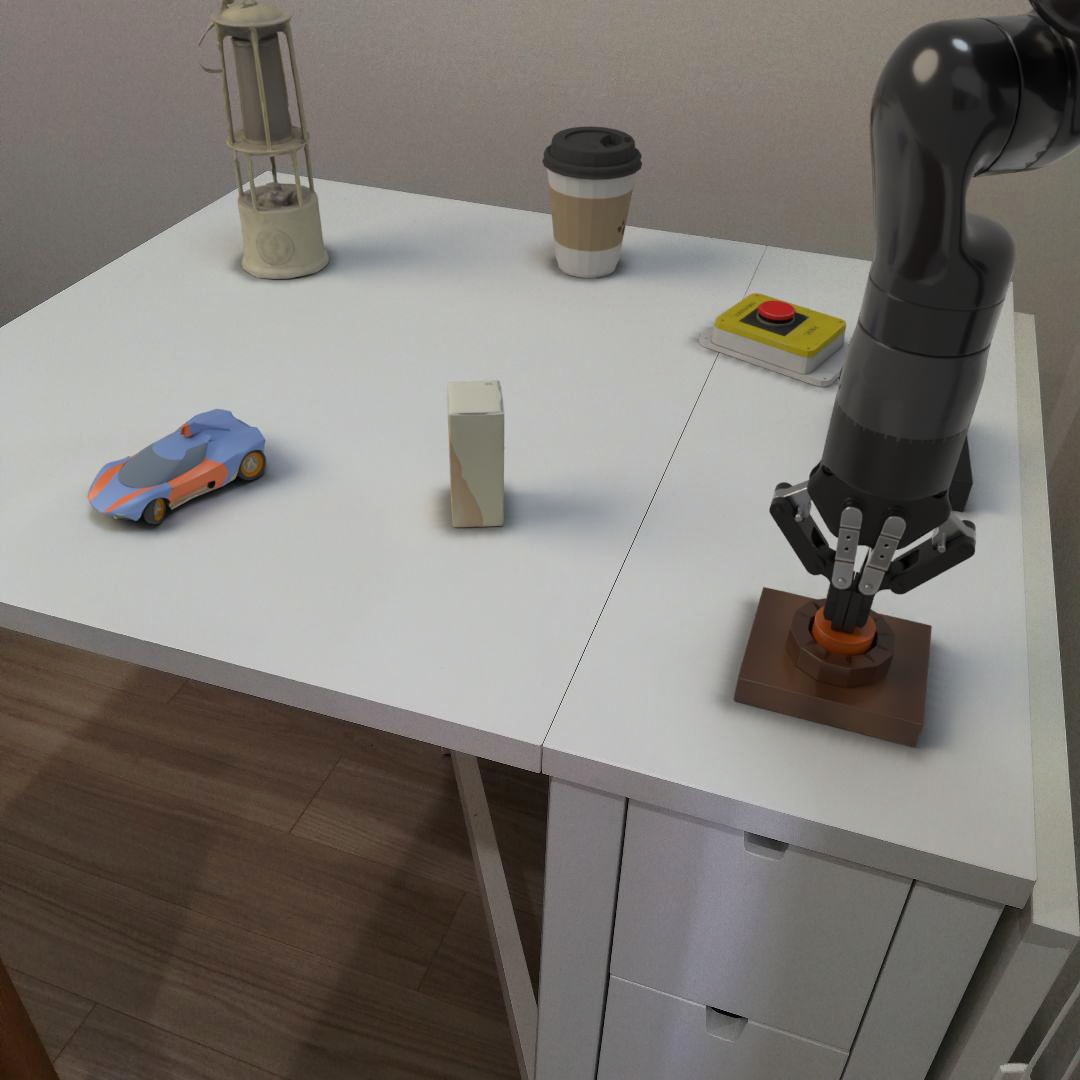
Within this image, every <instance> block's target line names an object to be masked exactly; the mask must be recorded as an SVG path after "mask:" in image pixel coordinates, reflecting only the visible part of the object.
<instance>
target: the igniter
mask: <svg viewBox="0 0 1080 1080" xmlns="http://www.w3.org/2000/svg"><path fill="white" fill-rule="evenodd" d="M825 601H826V598H814V597H809V596H806V595H802V594H796V593H792V592H788V591H783V590H779V589H774V588H771V587H766V586H763V587H762V590H761V593H760V597H759V601H758V604H757V607H756V608H757V609H756V611H755V614H754V617H753V618H754V619H753V622H752V626H751V630H750V633H749V636H748V640H747V644H746V647H745V651H744V654H743V658H742V662H741V664H740V669H739V672H738V676H737V680H736V685H735V691H734V695H733V701H734V702H738V703H741V704H745V705H748V706H749V705H750V706H753V707H757V708H761V709H765V710H768V711H773V712H776V713H780V714H784V715H788V716H791V717H796V718H800V719H803V720H808V721H811V722H815V723H819V724H823V725H827V726H831V727H835V728H839V729H842V730H846V731H850V732H854V733H858V734H861V735H865V736H869V737H874V738H877V739H881V740H885V741H889V742H893V743H896V744H901V745H904V746H908V747H912V748H916V747H917V745H918V742H919V739H920V737H921V734H922V731H923V729H924V725H925V714H926V702H927V690H928V689H927V688H928V679H929V677H928V676H929V665H930V651H931V641H932V640H931V639H932V628H933V627H932V625H931V624H927V623H923V622H918V621H914V620H911V619H904V618H901V617H896V616H892V615H888V614H883V613H879V612H877V611H875V610H873V609H872V608H871V610H870V613H869V615H870V616H871V618H872V619H873V621H874V623H875V626H876V631H875V635H874V638H873V642H872V645H871V648H870V651H869V652H867V653H866V654H861V655H853V656H846V655H842V654H838V653H833V652H829V651H828V650H826V649H825V648H823V647H822V646H820V645H819V644H817V643H816V642H815V641H814V639H813V637H812V636H811V632H812V628H813V624H814V620H815V616H816V613H817V611H818V610H819V609H820V608H822V607H823V606H825Z"/></svg>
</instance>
